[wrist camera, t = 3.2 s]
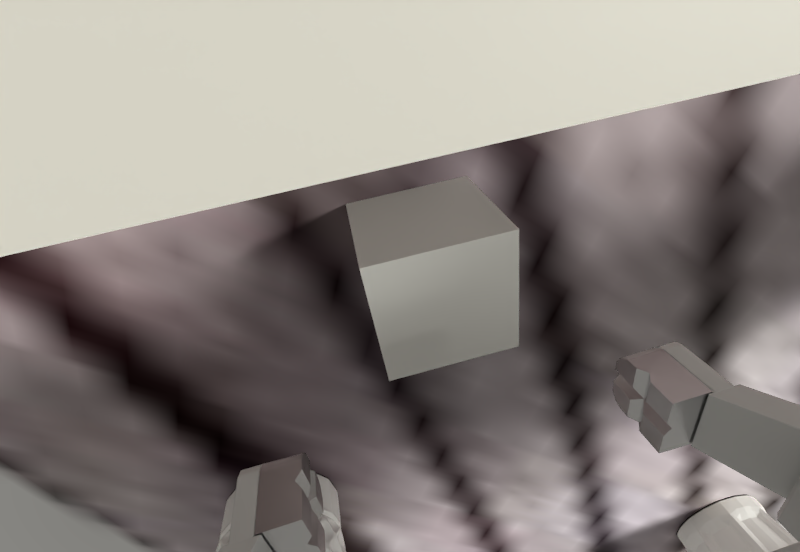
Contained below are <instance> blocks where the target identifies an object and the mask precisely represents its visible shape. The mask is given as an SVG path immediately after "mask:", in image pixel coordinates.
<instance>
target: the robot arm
mask: <svg viewBox="0 0 800 552" xmlns="http://www.w3.org/2000/svg"><path fill="white" fill-rule="evenodd" d="M616 370H617V371H618V372H619V373H620V374H619V375H618V376H617V378H616V379H615V380H614V382H613V393H614V396H615V400H616V402H617V403H618V405H619V407H620V408H621V410H622V411H623V412H624V413H625V414H626V416H627V417H629V418H632V419H634V420H636V421H638V422H639V431H640V432H641V433H642V434H643V435H644V437H645V438H646V439H647V440H648V441H649V442H650V443H651V445H652V446H653V447H654V448H655V449H656V450H657V451H658V453H661V452H665V451H668V450H672V449H675V448H679V447H682V446H686V445H689V444H692V445H691V446H692V447H694V448H696V449H698V450H700V451H701V452H703V453H705V454H707V455H709V456H710V457H712V458H714V459H716V460H718V461H719V462H721V463H723V464H725V465H727V466H728V467H730V468H732V469H734V470H736V471H737V472H739V473H741V474H743V475H745V476H746V477H748V478H750V479H752V480H754V481H755V482H757V483H759V484H761V485H763V486H764V487H766V488H768V489H770V490H772V491H773V492H775V493H777V494H779V495H781V496H782V497H784V498H786V500H785V502H784V503H783V505H782V506H781V508H780V510H779V511H778V513H777V520H778V521H779V522H780V523H781V524H782V525H783V526H784V527H785V528H786V529H787V531H788V532H789V533H790V534H791V535H792V536H793V537H794V538H795V539H796V540H797V541H798V542H797V543H794V544H792V545H789V546H786V547H783V548H780V549H778V550H775V551H772V552H800V405H798V404H795V403H792V402H789V401H786V400H783V399H780V398H777V397H775V396H772V395H769V394H766V393H763V392H760V391H757V390H754V389H751V388H749V387H746V386H743V385H736V386H734V385H732V384H731V383H730V382H729V381H727V380H726V379H725V378H724V377H722V376H721V375H720V374H719V373H717V372H716V371H715V370H714V369H712V368H711V367H710V366H709V365H707V364H706V363H705V362H704V361H702V360H701V359H700V358H699V357H697V356H696V355H695V354H694V353H692V352H691V351H690V350H689V349H687V348H686V347H685V346H684V345H682V344H680V343H678V342H672V343H668V344H665V345H662V346H658V347H656V348H654V347H653V348H650V349H647V350H644V351H641V352H637V353H634V354H631V355H628V356H625V357H622V358H620V359H619V360H618V361H617V363H616ZM323 511H324V510H323V498H322V492H321V486H320V483H319V479H318V477H317V474H316V472H315V471H313V470H310V460H309V458H308V456H307V455H306V453H302V454H298V455H295V456H291V457H287V458H284V459H280V460H276V461H272V462H269V463H265V464H261V465H258V466H254V467H251V468H247V469H244V470H241V471H240V474H239V476H238V478H237V484H236V492H235V499H234V506H233V513H232V520H231V527H230V535H229V542H228V544H227V545H224V546H222V547H221V548H220V550H219V551H218V552H326V549H325V530H324V528H323V526H322V524H321V523H320V521H319V519H320V517H321V515H322V513H323Z"/></svg>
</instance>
